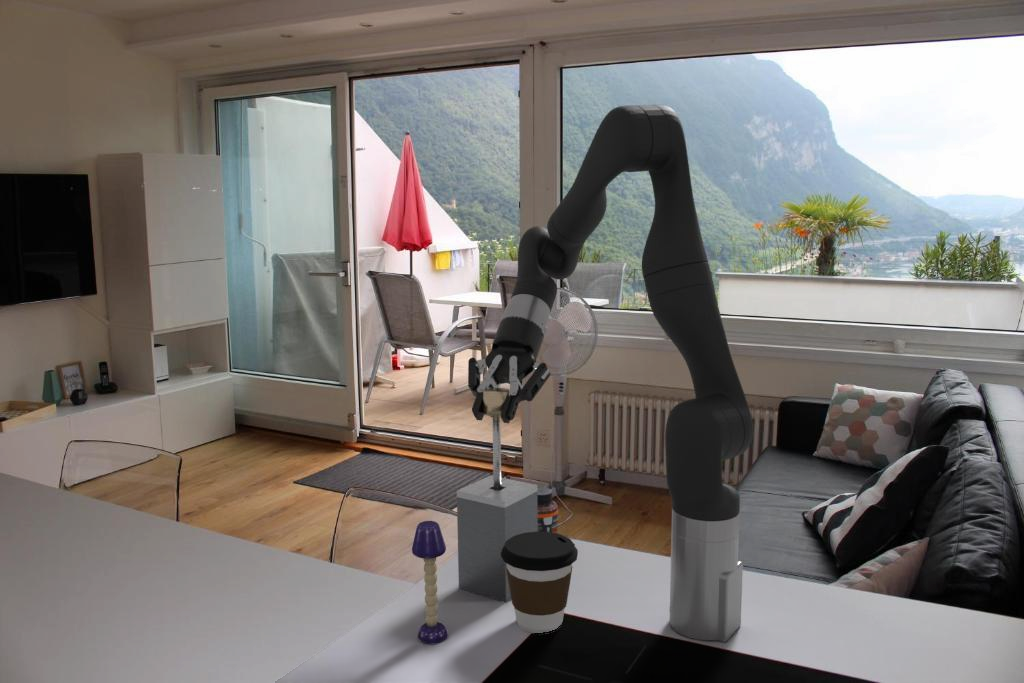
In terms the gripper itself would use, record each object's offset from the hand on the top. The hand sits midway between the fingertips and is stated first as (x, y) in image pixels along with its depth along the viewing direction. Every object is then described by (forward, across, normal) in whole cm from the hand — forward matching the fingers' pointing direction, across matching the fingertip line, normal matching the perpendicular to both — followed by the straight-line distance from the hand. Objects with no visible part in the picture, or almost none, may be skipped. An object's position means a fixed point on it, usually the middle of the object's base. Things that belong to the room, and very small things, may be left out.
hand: (491, 418), depth 130 cm
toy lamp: (+32, -2, +8) cm, 33 cm away
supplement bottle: (+8, +1, +31) cm, 32 cm away
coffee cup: (+25, +11, +14) cm, 31 cm away
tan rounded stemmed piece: (+8, 0, +11) cm, 14 cm away
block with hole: (+18, 0, +21) cm, 28 cm away
